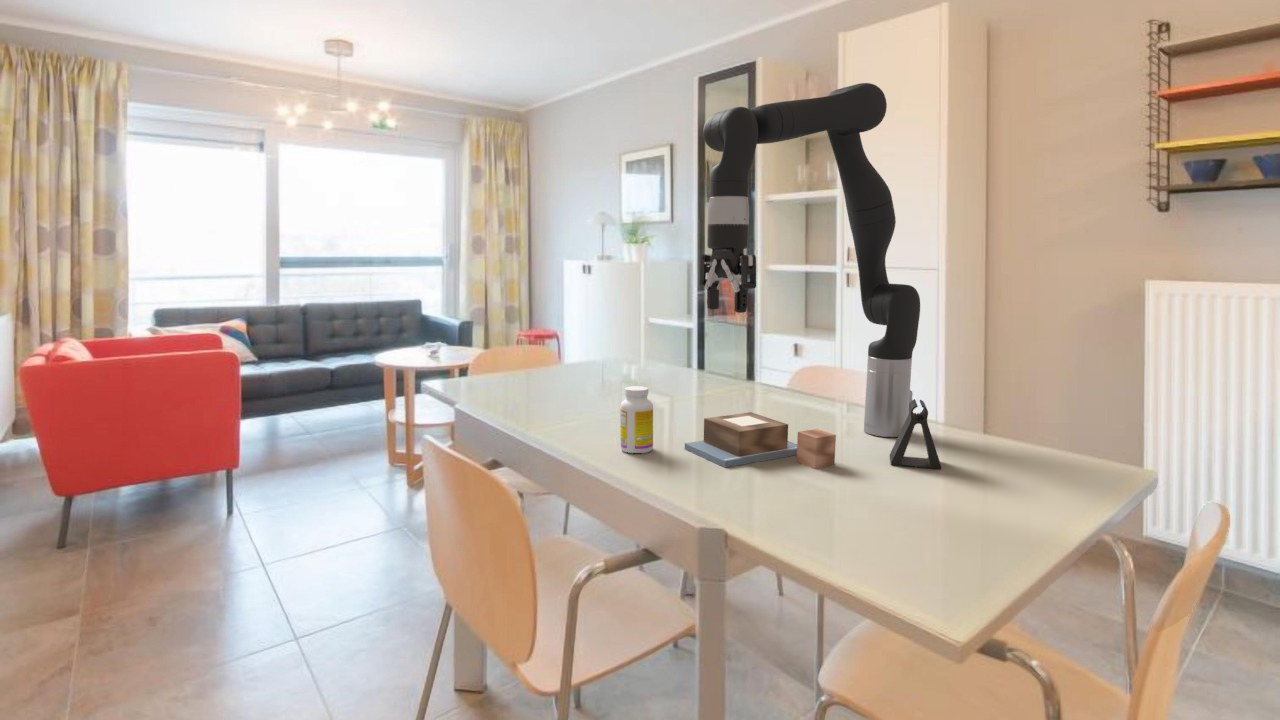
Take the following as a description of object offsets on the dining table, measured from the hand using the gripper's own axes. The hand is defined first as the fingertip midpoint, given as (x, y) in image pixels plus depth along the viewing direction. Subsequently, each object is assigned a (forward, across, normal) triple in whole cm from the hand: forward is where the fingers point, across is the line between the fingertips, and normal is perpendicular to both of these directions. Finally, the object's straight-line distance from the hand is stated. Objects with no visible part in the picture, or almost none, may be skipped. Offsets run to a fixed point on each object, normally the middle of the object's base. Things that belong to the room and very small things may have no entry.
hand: (726, 310), depth 132 cm
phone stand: (+29, -19, -32) cm, 47 cm away
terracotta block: (+29, -10, -15) cm, 34 cm away
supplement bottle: (+29, +14, +11) cm, 34 cm away
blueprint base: (+29, +3, -8) cm, 30 cm away
